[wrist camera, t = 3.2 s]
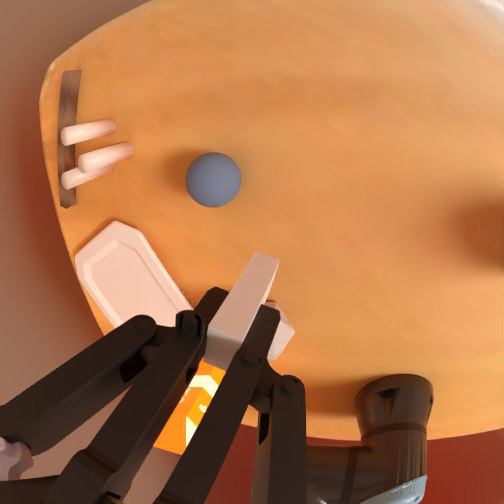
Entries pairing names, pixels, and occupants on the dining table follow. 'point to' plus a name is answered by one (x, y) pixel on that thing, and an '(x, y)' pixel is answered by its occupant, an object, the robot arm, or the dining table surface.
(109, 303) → the plate
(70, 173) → the pin
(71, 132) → the pin
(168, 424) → the orange juice
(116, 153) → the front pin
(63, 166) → the board
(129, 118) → the dining table surface
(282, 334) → the die
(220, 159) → the ball
